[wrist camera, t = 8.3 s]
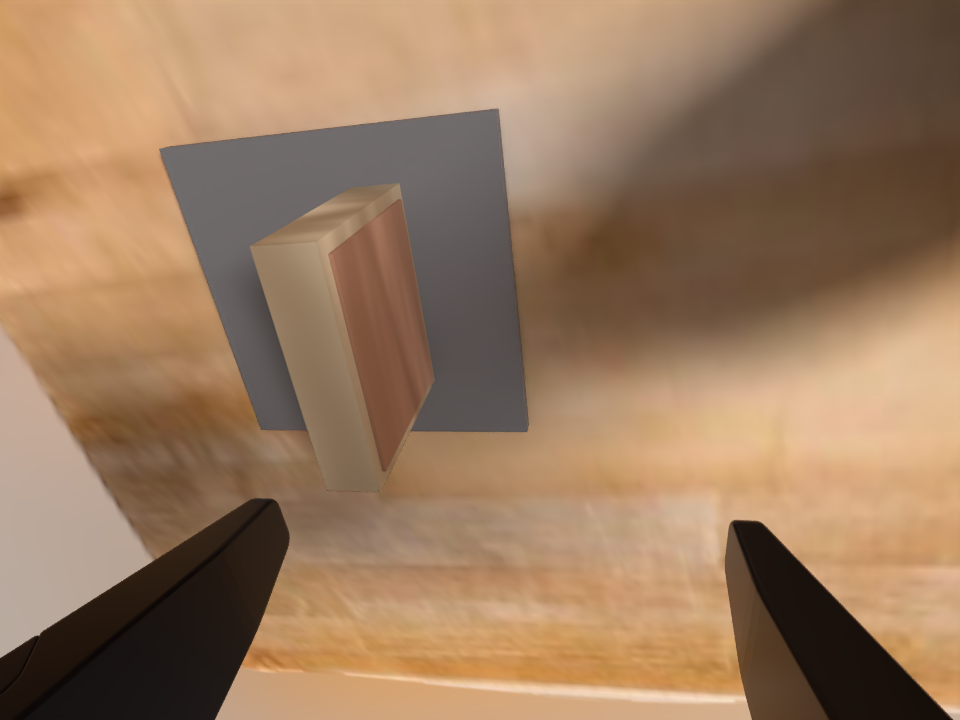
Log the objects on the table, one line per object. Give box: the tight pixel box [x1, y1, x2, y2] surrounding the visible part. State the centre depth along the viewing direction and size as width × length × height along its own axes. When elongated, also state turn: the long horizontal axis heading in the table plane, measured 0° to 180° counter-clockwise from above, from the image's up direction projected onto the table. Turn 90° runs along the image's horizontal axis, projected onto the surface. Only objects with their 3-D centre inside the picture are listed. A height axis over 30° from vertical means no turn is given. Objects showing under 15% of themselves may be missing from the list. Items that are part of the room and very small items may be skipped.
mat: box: [159, 109, 529, 432], centre depth 20 cm, size 11×11×1 cm
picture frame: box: [250, 183, 435, 492], centre depth 17 cm, size 2×7×6 cm, turn 8°
